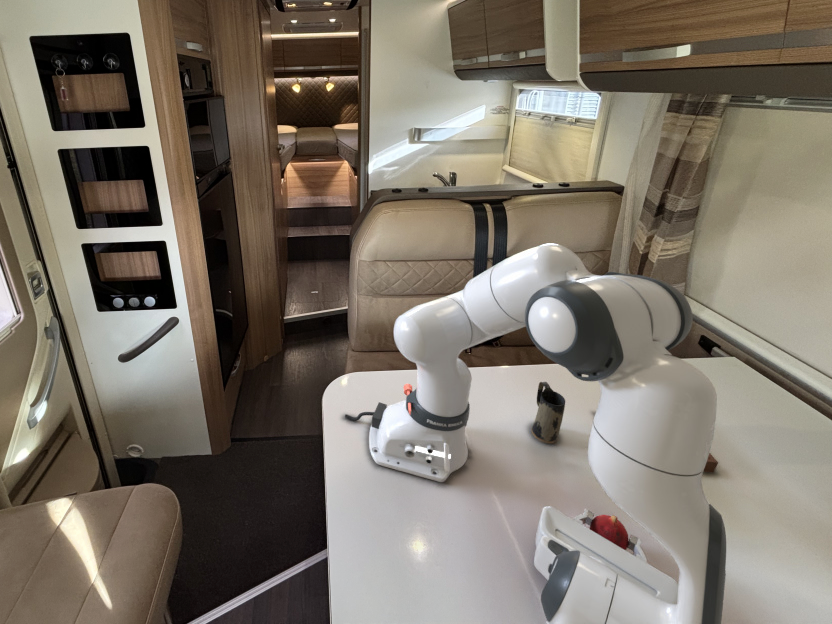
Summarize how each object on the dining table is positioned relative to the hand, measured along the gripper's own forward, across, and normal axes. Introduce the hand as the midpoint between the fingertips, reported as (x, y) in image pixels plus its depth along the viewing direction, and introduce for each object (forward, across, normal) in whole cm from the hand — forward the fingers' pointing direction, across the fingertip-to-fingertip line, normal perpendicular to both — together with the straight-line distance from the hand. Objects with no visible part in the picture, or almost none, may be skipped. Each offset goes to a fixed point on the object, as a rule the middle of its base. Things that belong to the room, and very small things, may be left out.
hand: (611, 525), depth 76 cm
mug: (+20, +17, +5) cm, 27 cm away
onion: (-1, 0, +5) cm, 5 cm away
